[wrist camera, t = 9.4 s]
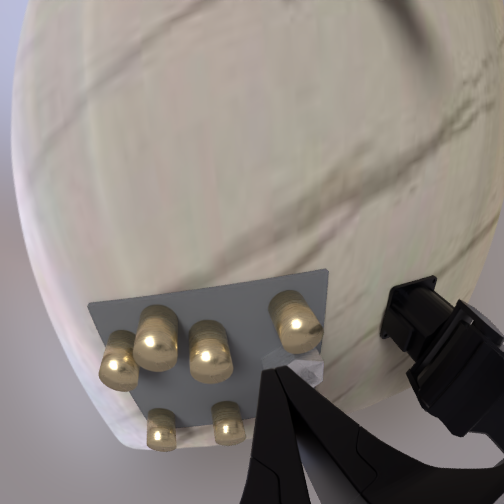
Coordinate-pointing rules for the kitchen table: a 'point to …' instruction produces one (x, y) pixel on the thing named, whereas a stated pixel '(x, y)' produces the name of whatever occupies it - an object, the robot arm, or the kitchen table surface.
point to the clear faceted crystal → (297, 363)
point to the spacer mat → (238, 335)
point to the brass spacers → (198, 360)
